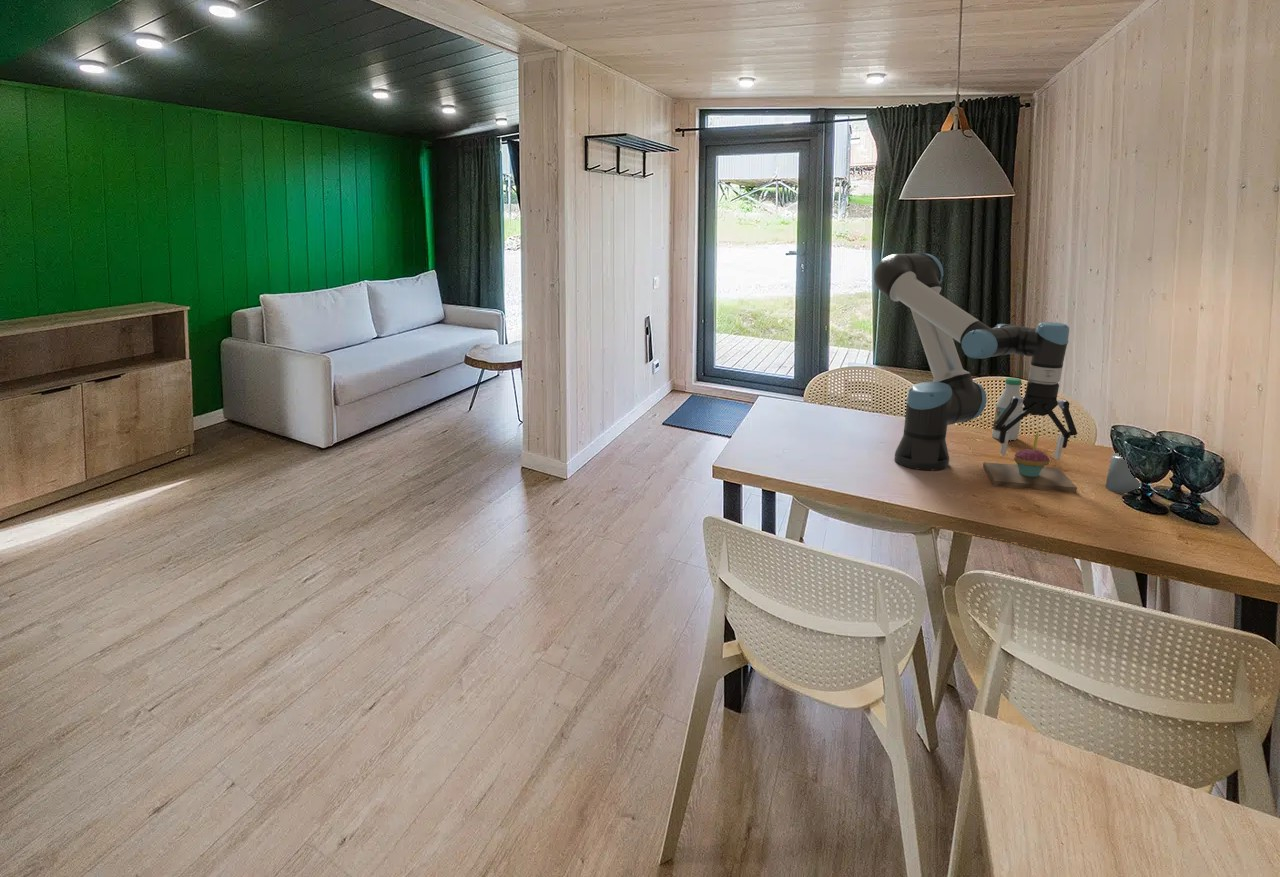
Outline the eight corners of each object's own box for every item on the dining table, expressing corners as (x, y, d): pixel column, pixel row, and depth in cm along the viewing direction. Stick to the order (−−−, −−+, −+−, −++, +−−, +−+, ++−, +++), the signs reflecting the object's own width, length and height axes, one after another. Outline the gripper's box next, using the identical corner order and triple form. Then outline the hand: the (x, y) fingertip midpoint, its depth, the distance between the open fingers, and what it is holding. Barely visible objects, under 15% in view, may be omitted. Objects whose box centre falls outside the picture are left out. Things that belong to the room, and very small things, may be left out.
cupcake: (1016, 466, 206) (1022, 426, 202) (1049, 473, 201) (1056, 432, 197) (1008, 475, 199) (1015, 433, 196) (1043, 481, 194) (1050, 439, 191)
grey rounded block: (1111, 493, 190) (1118, 461, 188) (1101, 483, 198) (1107, 452, 195) (1145, 496, 189) (1153, 463, 186) (1133, 485, 196) (1140, 454, 193)
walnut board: (994, 486, 196) (995, 480, 195) (982, 467, 210) (983, 462, 210) (1076, 492, 191) (1077, 487, 190) (1058, 472, 206) (1059, 468, 205)
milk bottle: (1012, 435, 242) (1021, 376, 236) (1021, 441, 234) (1031, 381, 228) (988, 434, 242) (996, 376, 236) (996, 441, 235) (1005, 381, 229)
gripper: (996, 381, 192) (983, 456, 198) (1100, 387, 186) (1084, 464, 193) (990, 375, 199) (978, 448, 205) (1091, 381, 193) (1075, 456, 199)
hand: (1029, 456), depth 199 cm, fingers open, 13 cm apart
